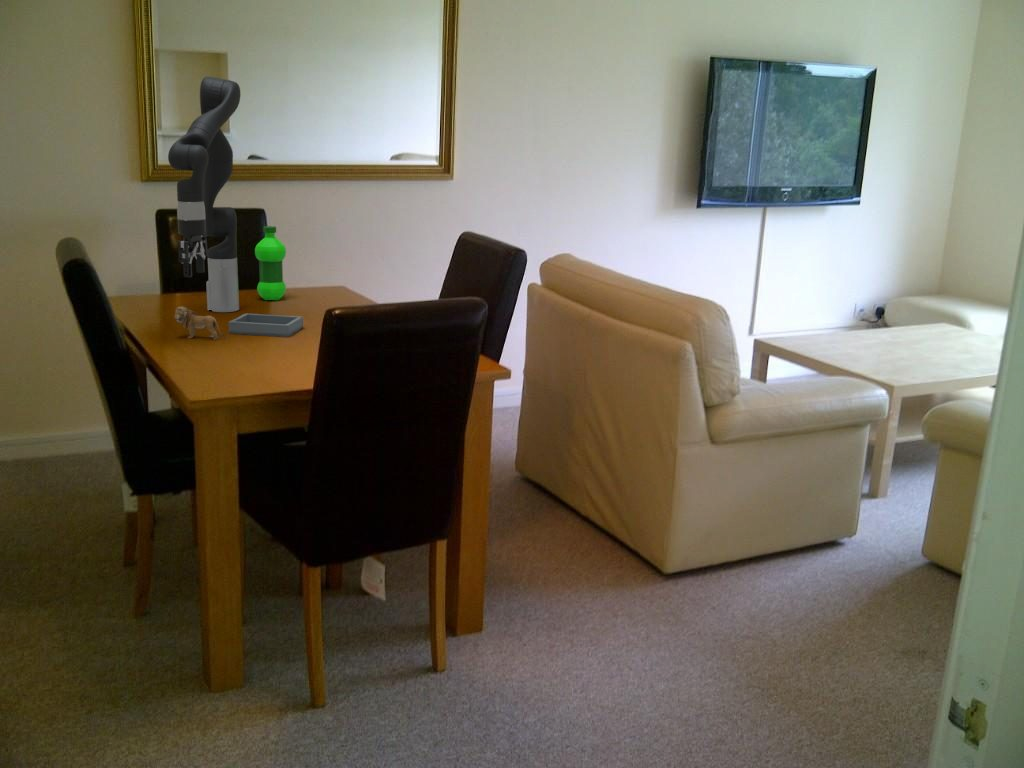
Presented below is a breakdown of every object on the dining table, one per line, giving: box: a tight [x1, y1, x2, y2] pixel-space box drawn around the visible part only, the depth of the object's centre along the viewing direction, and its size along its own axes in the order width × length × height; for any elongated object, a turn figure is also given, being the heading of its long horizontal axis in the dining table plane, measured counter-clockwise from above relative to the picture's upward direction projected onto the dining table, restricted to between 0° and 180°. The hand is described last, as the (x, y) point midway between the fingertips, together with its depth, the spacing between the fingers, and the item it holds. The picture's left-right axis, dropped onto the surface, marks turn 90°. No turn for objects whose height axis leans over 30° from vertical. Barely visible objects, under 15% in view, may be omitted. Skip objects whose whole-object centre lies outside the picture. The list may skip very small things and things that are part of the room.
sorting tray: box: [228, 312, 304, 338], centre depth 311 cm, size 18×13×4 cm
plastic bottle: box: [254, 225, 287, 301], centre depth 356 cm, size 10×10×25 cm
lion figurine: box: [174, 306, 227, 341], centre depth 299 cm, size 15×5×9 cm, turn 86°
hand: (194, 274), depth 295 cm, fingers open, 8 cm apart
